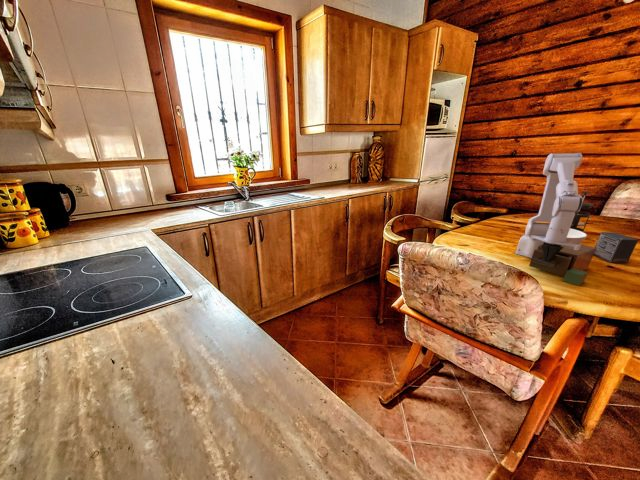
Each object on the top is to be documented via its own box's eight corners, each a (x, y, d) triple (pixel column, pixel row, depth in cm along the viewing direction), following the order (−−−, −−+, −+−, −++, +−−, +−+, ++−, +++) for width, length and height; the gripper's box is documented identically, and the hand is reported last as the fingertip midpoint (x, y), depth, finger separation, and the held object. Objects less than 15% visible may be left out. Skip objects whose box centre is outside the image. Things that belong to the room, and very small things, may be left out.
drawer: (557, 279, 105) (563, 261, 102) (523, 268, 115) (528, 252, 112) (580, 268, 112) (587, 251, 109) (546, 259, 121) (552, 243, 118)
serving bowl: (577, 254, 126) (583, 240, 123) (520, 244, 141) (524, 231, 138) (585, 243, 138) (590, 230, 135) (531, 234, 153) (535, 222, 150)
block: (562, 281, 105) (566, 270, 103) (568, 278, 107) (572, 268, 105) (577, 285, 102) (582, 275, 100) (583, 282, 103) (588, 272, 101)
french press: (582, 233, 150) (599, 190, 141) (585, 238, 144) (603, 193, 134) (553, 230, 157) (568, 189, 148) (554, 235, 150) (569, 192, 141)
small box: (629, 263, 116) (640, 239, 111) (610, 262, 117) (620, 239, 113) (607, 254, 125) (617, 231, 121) (590, 253, 126) (599, 231, 122)
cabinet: (569, 276, 108) (577, 255, 104) (531, 265, 118) (538, 245, 115) (587, 268, 113) (596, 247, 110) (550, 258, 124) (557, 239, 120)
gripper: (530, 226, 108) (520, 258, 113) (578, 234, 96) (565, 270, 101) (540, 223, 111) (530, 255, 116) (588, 232, 99) (575, 266, 104)
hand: (547, 262), depth 109 cm, fingers closed, pressing on drawer
